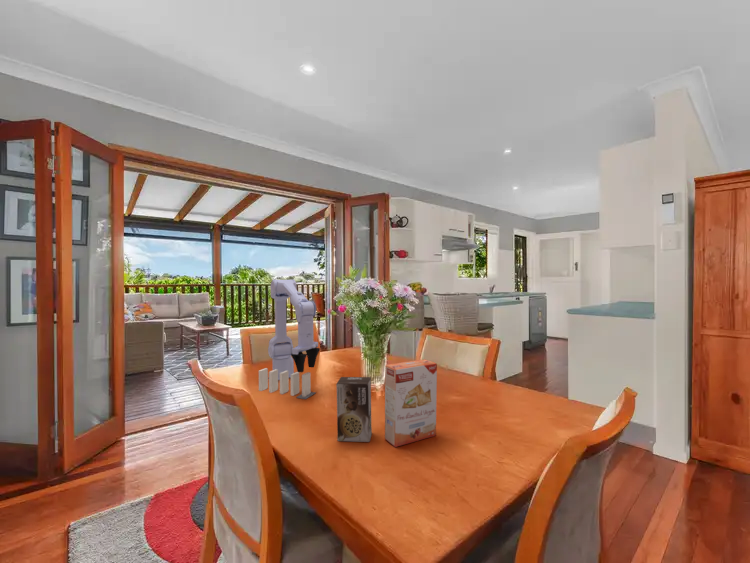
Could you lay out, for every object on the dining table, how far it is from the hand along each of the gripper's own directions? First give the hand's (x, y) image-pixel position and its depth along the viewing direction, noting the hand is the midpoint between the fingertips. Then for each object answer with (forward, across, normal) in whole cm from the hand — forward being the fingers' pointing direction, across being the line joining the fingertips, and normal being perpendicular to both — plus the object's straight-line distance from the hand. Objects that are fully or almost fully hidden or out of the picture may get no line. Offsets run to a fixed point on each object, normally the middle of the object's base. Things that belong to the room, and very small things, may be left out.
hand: (306, 369), depth 133 cm
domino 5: (+10, 0, 0) cm, 10 cm away
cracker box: (+10, -19, -46) cm, 51 cm away
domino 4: (+10, 0, +5) cm, 11 cm away
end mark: (+10, 0, 0) cm, 10 cm away
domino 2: (+10, 0, +15) cm, 18 cm away
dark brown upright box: (+10, -24, -32) cm, 41 cm away
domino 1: (+10, 0, +20) cm, 22 cm away
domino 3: (+10, 0, +10) cm, 14 cm away
